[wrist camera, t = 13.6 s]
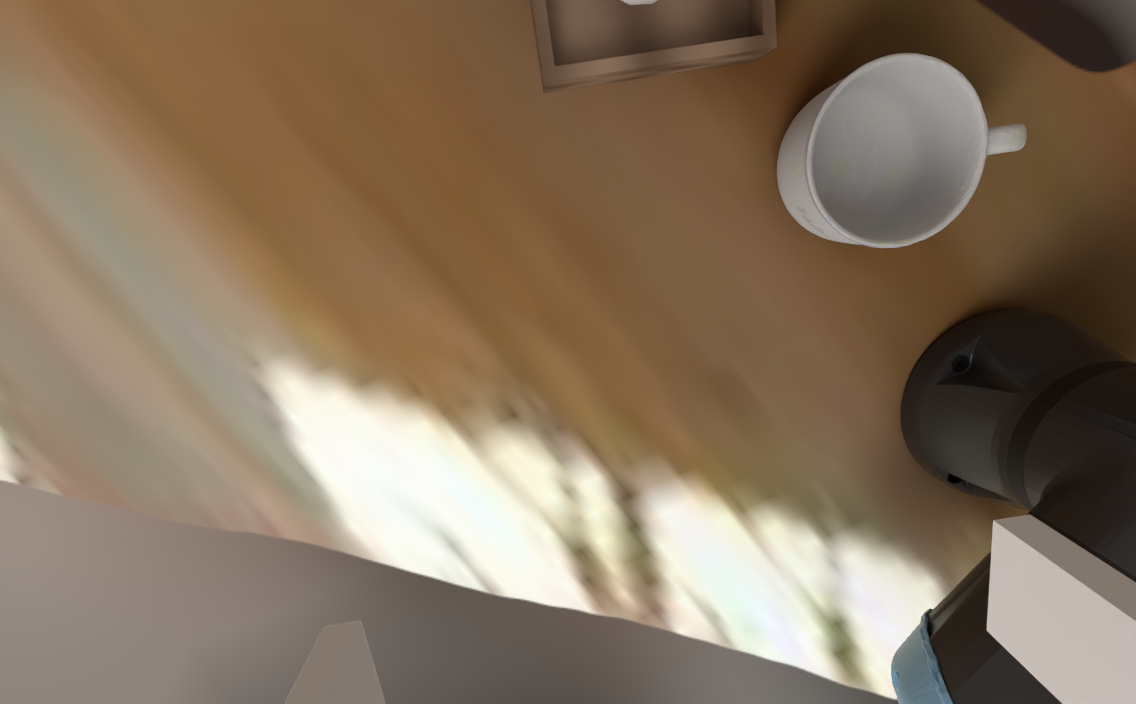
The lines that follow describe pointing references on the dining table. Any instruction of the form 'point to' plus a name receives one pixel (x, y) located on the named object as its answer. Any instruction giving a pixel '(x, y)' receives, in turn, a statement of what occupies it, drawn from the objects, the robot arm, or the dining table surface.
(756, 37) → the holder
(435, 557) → the dining table surface
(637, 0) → the foam cup
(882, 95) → the teacup
